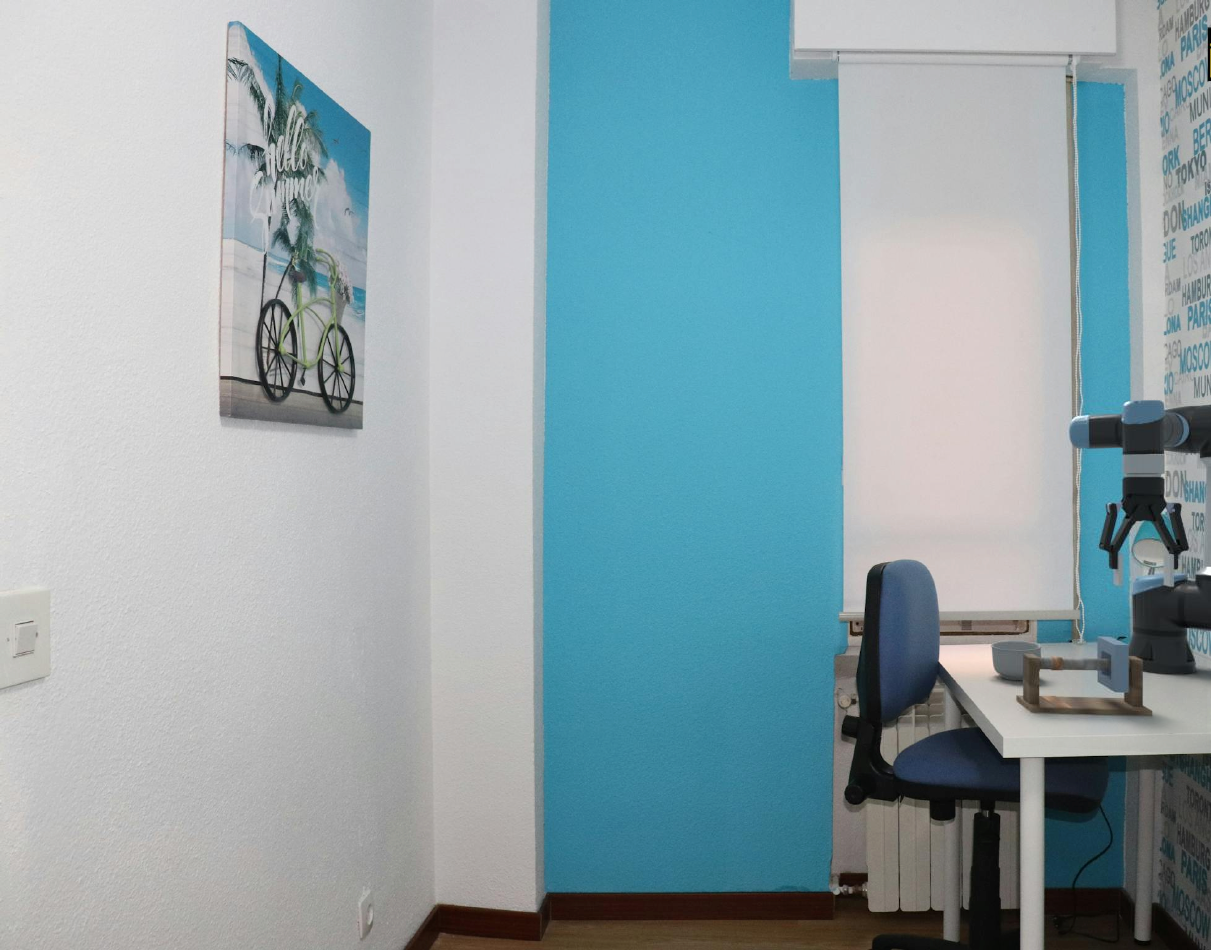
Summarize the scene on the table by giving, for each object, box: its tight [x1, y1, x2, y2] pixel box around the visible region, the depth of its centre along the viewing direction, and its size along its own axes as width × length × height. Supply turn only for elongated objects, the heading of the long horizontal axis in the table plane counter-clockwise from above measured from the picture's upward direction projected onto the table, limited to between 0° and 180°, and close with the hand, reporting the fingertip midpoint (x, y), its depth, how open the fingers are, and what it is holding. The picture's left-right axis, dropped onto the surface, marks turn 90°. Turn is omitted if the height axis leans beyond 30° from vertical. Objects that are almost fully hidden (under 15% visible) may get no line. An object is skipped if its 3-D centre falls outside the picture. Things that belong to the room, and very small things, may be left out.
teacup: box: [990, 639, 1042, 681], centre depth 221 cm, size 14×11×8 cm
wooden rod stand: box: [1015, 654, 1153, 717], centre depth 192 cm, size 23×10×10 cm, turn 82°
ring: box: [1096, 636, 1129, 694], centre depth 192 cm, size 2×9×10 cm, turn 172°
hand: (1143, 585), depth 191 cm, fingers open, 9 cm apart
